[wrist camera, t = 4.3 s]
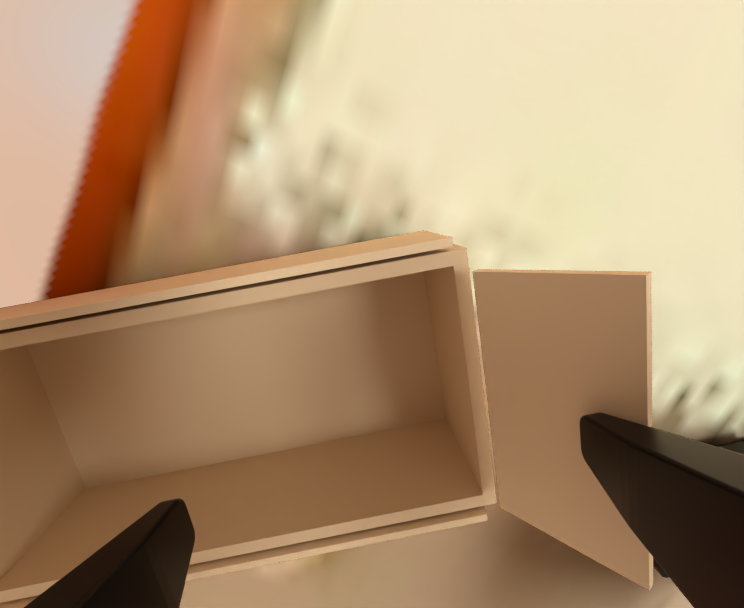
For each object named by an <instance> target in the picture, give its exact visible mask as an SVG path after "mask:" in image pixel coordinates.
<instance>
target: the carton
mask: <svg viewBox="0 0 744 608" xmlns="http://www.w3.org/2000/svg"><path fill="white" fill-rule="evenodd" d="M176 498H180V499H183V500H184V502H185V504H186V506H187V509H188V512H189V515H190V518H191V521H192V524H193V527H194V530H195V543H194V547H193V552H192V556H191V560H190V564H189V568H188V573H187V577H186V581H190V580H195V579H200V578H205V577H210V576H215V575H220V574H225V573H230V572H235V571H240V570H245V569H250V568H255V567H260V566H265V565H270V564H275V563H280V562H285V561H290V560H294V559H299V558H304V557H309V556H314V555H319V554H324V553H329V552H334V551H339V550H344V549H349V548H354V547H359V546H364V545H369V544H374V543H379V542H384V541H389V540H394V539H399V538H404V537H409V536H414V535H419V534H424V533H428V532H433V531H438V530H443V529H448V528H453V527H458V526H463V525H468V524H473V523H478V522H483V521H488V519H487V513H486V511H485V509H484V507H483V506H486V505H491V504H496V503H497V501H496V492H495V484H494V475H493V467H492V459H491V450H490V442H489V433H488V425H487V416H486V408H485V399H484V391H483V382H482V374H481V366H480V357H479V349H478V340H477V332H476V323H475V315H474V306H473V298H472V289H471V281H470V272H469V264H468V256H467V248H465V247H461V246H458V245H454V244H453V242H452V237H449V236H444V235H440V234H436V233H432V232H427V231H418V232H413V233H407V234H402V235H396V236H391V237H385V238H380V239H374V240H369V241H364V242H358V243H353V244H347V245H342V246H336V247H331V248H325V249H320V250H315V251H309V252H304V253H298V254H293V255H287V256H282V257H276V258H271V259H265V260H260V261H255V262H249V263H244V264H238V265H233V266H227V267H222V268H216V269H211V270H206V271H200V272H195V273H189V274H184V275H178V276H173V277H167V278H162V279H156V280H151V281H146V282H140V283H135V284H129V285H124V286H118V287H113V288H107V289H102V290H97V291H91V292H86V293H80V294H75V295H69V296H64V297H58V298H53V299H47V300H42V301H37V302H31V303H26V304H21V305H15V306H9V307H4V308H0V608H24V607H25V606H26V605H27V604H29V603H30V602H31V601H33V600H34V599H35V598H37V597H38V596H39V595H40V594H42V593H43V592H44V591H46V590H47V589H48V588H50V587H51V586H52V585H53V584H55V583H56V582H57V581H59V580H60V579H61V578H62V577H64V576H65V575H66V574H68V573H69V572H70V571H72V570H73V569H74V568H75V567H77V566H78V565H79V564H81V563H82V562H83V561H85V560H86V559H87V558H88V557H90V556H91V555H92V554H94V553H95V552H96V551H97V550H99V549H100V548H101V547H103V546H104V545H105V544H107V543H108V542H109V541H110V540H112V539H113V538H114V537H116V536H117V535H118V534H120V533H121V532H122V531H123V530H125V529H126V528H127V527H129V526H130V525H131V524H133V523H134V522H135V521H136V520H138V519H139V518H140V517H142V516H143V515H144V514H145V513H147V512H148V511H149V510H151V509H152V508H153V507H155V506H156V505H157V504H158V503H160V502H162V501H166V500H171V499H176Z"/></svg>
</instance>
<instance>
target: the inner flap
mask: <svg viewBox="0 0 744 608" xmlns="http://www.w3.org/2000/svg"><path fill="white" fill-rule="evenodd" d="M473 279H474V288H475V297H476V305H477V314H478V322H479V331H480V340H481V348H482V357H483V365H484V374H485V383H486V391H487V400H488V408H489V417H490V426H491V434H492V443H493V451H494V460H495V469H496V477H497V486H498V494H499V503H500V508H502V509H504V510H506V511H507V512H509V513H511V514H513V515H514V516H516V517H518V518H520V519H522V520H523V521H525V522H527V523H529V524H531V525H532V526H534V527H536V528H538V529H539V530H541V531H543V532H545V533H547V534H548V535H550V536H552V537H554V538H556V539H557V540H559V541H561V542H563V543H564V544H566V545H568V546H570V547H572V548H573V549H575V550H577V551H579V552H580V553H582V554H584V555H586V556H588V557H589V558H591V559H593V560H595V561H597V562H598V563H600V564H602V565H604V566H605V567H607V568H609V569H611V570H613V571H614V572H616V573H618V574H620V575H622V576H623V577H625V578H627V579H629V580H630V581H632V582H634V583H636V584H638V585H639V586H641V587H643V588H645V589H647V590H648V591H650V589H651V587H652V585H653V556H652V555H651V554H650V553H649V551H648V550H647V549H646V548H645V546H644V545H643V544H642V543H641V541H640V540H639V539H638V538H637V536H636V535H635V534H634V532H633V531H632V530H631V529H630V527H629V526H628V524H627V523H626V522H625V520H624V519H623V517H622V516H621V514H620V513H619V511H618V510H617V508H616V507H615V505H614V504H613V502H612V501H611V499H610V498H609V496H608V495H607V493H606V492H605V490H604V489H603V487H602V486H601V484H600V483H599V481H598V480H597V478H596V477H595V475H594V474H593V472H592V471H591V469H590V468H589V466H588V465H587V463H586V462H585V460H584V458H583V455H582V452H581V441H580V425H579V423H580V418H581V417H582V416H583V415H588V414H593V413H598V412H601V413H605V414H608V415H611V416H615V417H618V418H622V419H625V420H628V421H632V422H635V423H639V424H642V425H645V426H649V427H652V316H651V272H628V271H559V270H490V269H478V270H475V271H473Z"/></svg>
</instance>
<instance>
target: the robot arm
mask: <svg viewBox="0 0 744 608" xmlns="http://www.w3.org/2000/svg"><path fill="white" fill-rule="evenodd" d="M579 425H580V441H581V452H582V455H583V458H584V460H585V462H586V463H587V465H588V466H589V468H590V469H591V471H592V472H593V474H594V475H595V477H596V478H597V480H598V481H599V483H600V484H601V486H602V487H603V489H604V490H605V492H606V493H607V495H608V496H609V498H610V499H611V501H612V502H613V504H614V505H615V507H616V508H617V510H618V511H619V513H620V514H621V516H622V517H623V519H624V520H625V522H626V523H627V524H628V526H629V527H630V529H631V530H632V531H633V532H634V534H635V535H636V536H637V538H638V539H639V540H640V541H641V543H642V544H643V545H644V546H645V548H646V549H647V550H648V551H649V553H650V554H651V555H652V556H653V565H654V568H655V569H656V570H657V571H658V572H659V573H660V574H661V576H662V577H665V578H668V577H670V579H671V580H672V581H673V582H674V583H675V585H676V586H677V587H678V588H679V590H680V591H681V592H682V593H683V595H684V596H685V597H686V598H687V600H688V601H689V602H690V603H691V605H692V606H693V607H694V608H744V441H739V442H734V443H729V444H724V445H719V446H713V445H710V444H706V443H703V442H699V441H696V440H693V439H689V438H686V437H683V436H679V435H676V434H672V433H669V432H666V431H662V430H659V429H655V428H652V427H649V426H645V425H642V424H639V423H635V422H632V421H628V420H625V419H622V418H618V417H615V416H611V415H608V414H605V413H601V412H598V413H593V414H588V415H583V416H582V417H581V418H580V423H579ZM194 543H195V530H194V527H193V524H192V521H191V518H190V515H189V512H188V509H187V506H186V504H185V502H184V500H183V499H180V498H176V499H171V500H166V501H162V502H160V503H158V504H157V505H156V506H155V507H153V508H152V509H151V510H149V511H148V512H147V513H145V514H144V515H143V516H142V517H140V518H139V519H138V520H136V521H135V522H134V523H133V524H131V525H130V526H129V527H127V528H126V529H125V530H123V531H122V532H121V533H120V534H118V535H117V536H116V537H114V538H113V539H112V540H110V541H109V542H108V543H107V544H105V545H104V546H103V547H101V548H100V549H99V550H97V551H96V552H95V553H94V554H92V555H91V556H90V557H88V558H87V559H86V560H85V561H83V562H82V563H81V564H79V565H78V566H77V567H75V568H74V569H73V570H72V571H70V572H69V573H68V574H66V575H65V576H64V577H62V578H61V579H60V580H59V581H57V582H56V583H55V584H53V585H52V586H51V587H50V588H48V589H47V590H46V591H44V592H43V593H42V594H40V595H39V596H38V597H37V598H35V599H34V600H33V601H31V602H30V603H29V604H27V605H26V606H25V607H24V608H179V606H180V602H181V598H182V594H183V589H184V585H185V581H186V577H187V573H188V568H189V564H190V560H191V556H192V552H193V547H194Z"/></svg>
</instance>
